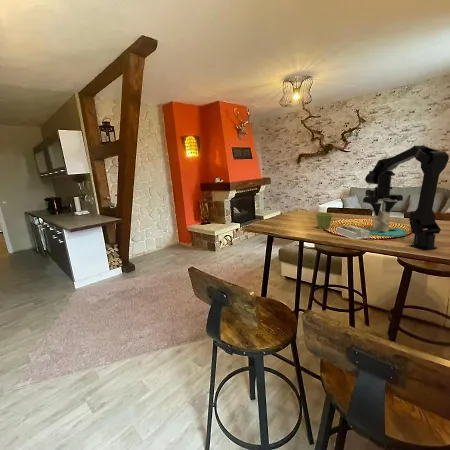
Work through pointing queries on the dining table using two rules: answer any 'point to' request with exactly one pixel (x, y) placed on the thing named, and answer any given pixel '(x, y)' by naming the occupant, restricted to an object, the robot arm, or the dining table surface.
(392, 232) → the alien figure
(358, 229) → the sage offcut
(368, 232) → the board rack
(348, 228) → the walnut offcut
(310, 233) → the dining table surface
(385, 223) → the birch sheet
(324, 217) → the plant pot
